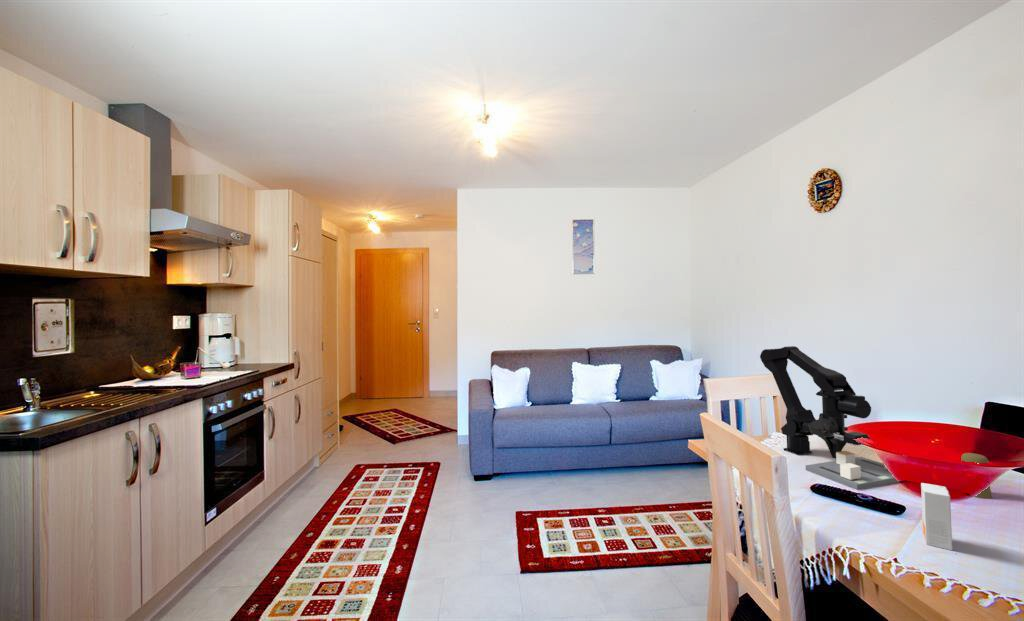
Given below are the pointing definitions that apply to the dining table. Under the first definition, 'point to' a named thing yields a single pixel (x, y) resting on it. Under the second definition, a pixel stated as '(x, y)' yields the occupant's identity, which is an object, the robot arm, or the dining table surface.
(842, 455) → the block
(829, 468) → the panel
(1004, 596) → the dining table surface
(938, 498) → the skincare box
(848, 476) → the block
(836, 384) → the robot arm
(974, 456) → the cork
